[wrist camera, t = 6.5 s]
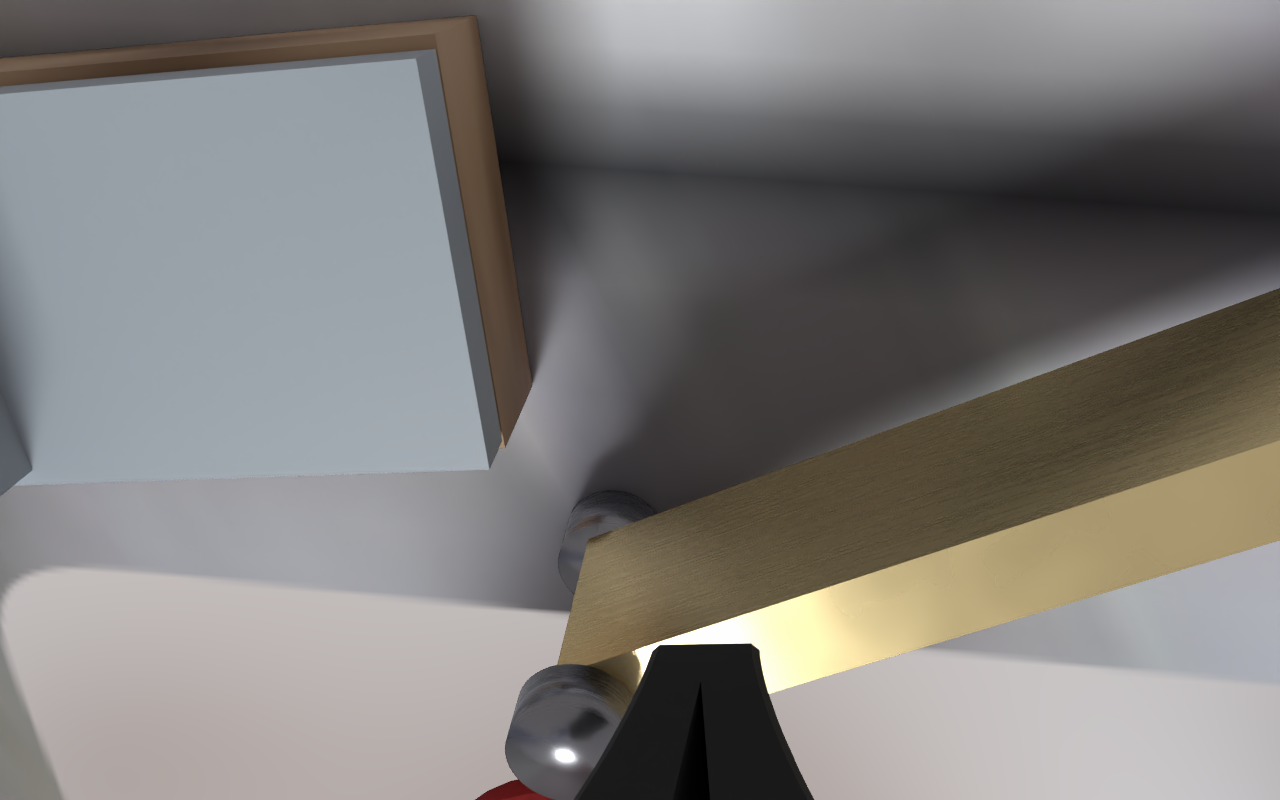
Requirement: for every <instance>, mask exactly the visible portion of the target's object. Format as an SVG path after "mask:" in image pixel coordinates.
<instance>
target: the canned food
mask: <svg viewBox="0 0 1280 800" xmlns="http://www.w3.org/2000/svg"><path fill="white" fill-rule="evenodd" d="M476 800H554V799H551V798H548V797H545V796H542V795H540V794H538V793H536V792H534V791H533V790H531V789H529V788H528V787H527V786H525V785H524V784H523V783H522V782H521V781H520V780H519V779H518V780H514V781H510V782H508V783H505V784H503V785H501V786H498V787H496V788H494V789H491V790H489V791H487V792H486V793H484V794H483V795H481V796H480V797H478V798H477V799H476Z"/></svg>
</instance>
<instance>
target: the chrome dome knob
mask: <svg viewBox="0 0 1280 800" xmlns="http://www.w3.org/2000/svg"><path fill="white" fill-rule="evenodd" d="M653 515H656V514H655V513H654V511H653V510H652V509H651V508H650V507H649V505H647V504H646V503H645V502H644V501H642V500H641V499H639V498H637V497H635V496H633V495H631V494H628V493H624V492H618V491H604V492H599V493H595V494H592V495H590V496H588V497H586V498H585V499H583V500H582V501H581V502H580V503H578V504H577V506H576V507H575V508H574V510H573V511H572V513H571V515H570V518H569V521H568V525H567V528H566V532H565V536H564V539H563V543H562V546H561V550H560V553H559V557H558V568H559V573H560V575H561V578H562V580H563V582H564V583H565V585H566V586H567V587H568V589H569V590H570V591H571V592H572V593H574V594H575V591H576V587H577V583H578V579H579V575H580V571H581V567H582V563H583V559H584V555H585V551H586V546H587V542H588V539H590V538H592V537H595V536H598V535H601V534H603V533H606V532H609V531H612V530H614V529H617V528H620V527H623V526H625V525H628V524H631V523H634V522H637V521H639V520H642V519H645V518H648V517H650V516H653Z"/></svg>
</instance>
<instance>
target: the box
mask: <svg viewBox="0 0 1280 800" xmlns="http://www.w3.org/2000/svg"><path fill="white" fill-rule="evenodd" d="M428 49H436V55H437V61H438V67H439V73H440V79H441V85H442V90H443V96H444V102H445V108H446V114H447V120H448V126H449V132H450V137H451V143H452V149H453V155H454V161H455V167H456V173H457V179H458V184H459V190H460V196H461V202H462V208H463V214H464V220H465V226H466V232H467V237H468V243H469V249H470V255H471V261H472V267H473V273H474V279H475V284H476V290H477V296H478V302H479V308H480V314H481V320H482V326H483V332H484V337H485V343H486V349H487V355H488V361H489V367H490V373H491V379H492V384H493V390H494V396H495V402H496V408H497V414H498V420H499V426H500V432H501V437H502V442H501V445H500V447H499V449H500V448H505V447H506V445H507V443H508V440H509V438H510V436H511V433H512V431H513V429H514V427H515V424H516V422H517V420H518V417H519V415H520V413H521V411H522V408H523V406H524V404H525V401H526V399H527V397H528V395H529V392H530V390H531V388H532V380H531V373H530V367H529V360H528V354H527V347H526V340H525V334H524V327H523V321H522V314H521V307H520V301H519V294H518V288H517V281H516V274H515V268H514V261H513V255H512V248H511V241H510V235H509V228H508V222H507V215H506V208H505V202H504V195H503V189H502V182H501V175H500V169H499V162H498V156H497V149H496V142H495V136H494V129H493V123H492V116H491V109H490V103H489V96H488V90H487V83H486V76H485V70H484V63H483V57H482V50H481V43H480V37H479V30H478V24H477V17H476V15H473V16H462V17H451V18H440V19H429V20H418V21H407V22H396V23H385V24H374V25H363V26H352V27H341V28H329V29H318V30H307V31H296V32H285V33H274V34H263V35H252V36H241V37H230V38H219V39H208V40H197V41H186V42H175V43H163V44H152V45H141V46H130V47H119V48H108V49H97V50H86V51H75V52H64V53H53V54H42V55H31V56H20V57H9V58H0V87H1V86H13V85H24V84H36V83H47V82H59V81H71V80H82V79H94V78H105V77H117V76H128V75H140V74H151V73H163V72H174V71H186V70H198V69H209V68H221V67H232V66H244V65H255V64H267V63H278V62H290V61H301V60H313V59H325V58H336V57H348V56H359V55H371V54H382V53H394V52H405V51H417V50H428Z"/></svg>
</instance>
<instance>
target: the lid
mask: <svg viewBox="0 0 1280 800" xmlns="http://www.w3.org/2000/svg"><path fill="white" fill-rule="evenodd" d="M501 442H502V437H501V432H500V426H499V420H498V414H497V408H496V402H495V396H494V390H493V384H492V379H491V373H490V367H489V361H488V355H487V349H486V343H485V337H484V332H483V326H482V320H481V314H480V308H479V302H478V296H477V290H476V284H475V279H474V273H473V267H472V261H471V255H470V249H469V243H468V237H467V232H466V226H465V220H464V214H463V208H462V202H461V196H460V190H459V184H458V179H457V173H456V167H455V161H454V155H453V149H452V143H451V137H450V132H449V126H448V120H447V114H446V108H445V102H444V96H443V90H442V85H441V79H440V73H439V67H438V61H437V55H436V49H428V50H417V51H405V52H394V53H382V54H371V55H359V56H348V57H336V58H325V59H313V60H301V61H290V62H278V63H267V64H255V65H244V66H232V67H221V68H209V69H198V70H186V71H174V72H163V73H151V74H140V75H128V76H117V77H105V78H94V79H82V80H71V81H59V82H47V83H36V84H24V85H13V86H1V87H0V496H1V495H2V494H4V493H5V492H6V491H7V490H9V489H10V488H11V487H12V486H20V485H49V484H79V483H108V482H138V481H167V480H197V479H226V478H255V477H285V476H314V475H344V474H373V473H403V472H432V471H462V470H489V469H490V467H491V465H492V463H493V460H494V458H495V456H496V454H497V451H498V449H499V447H500V445H501Z"/></svg>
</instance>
